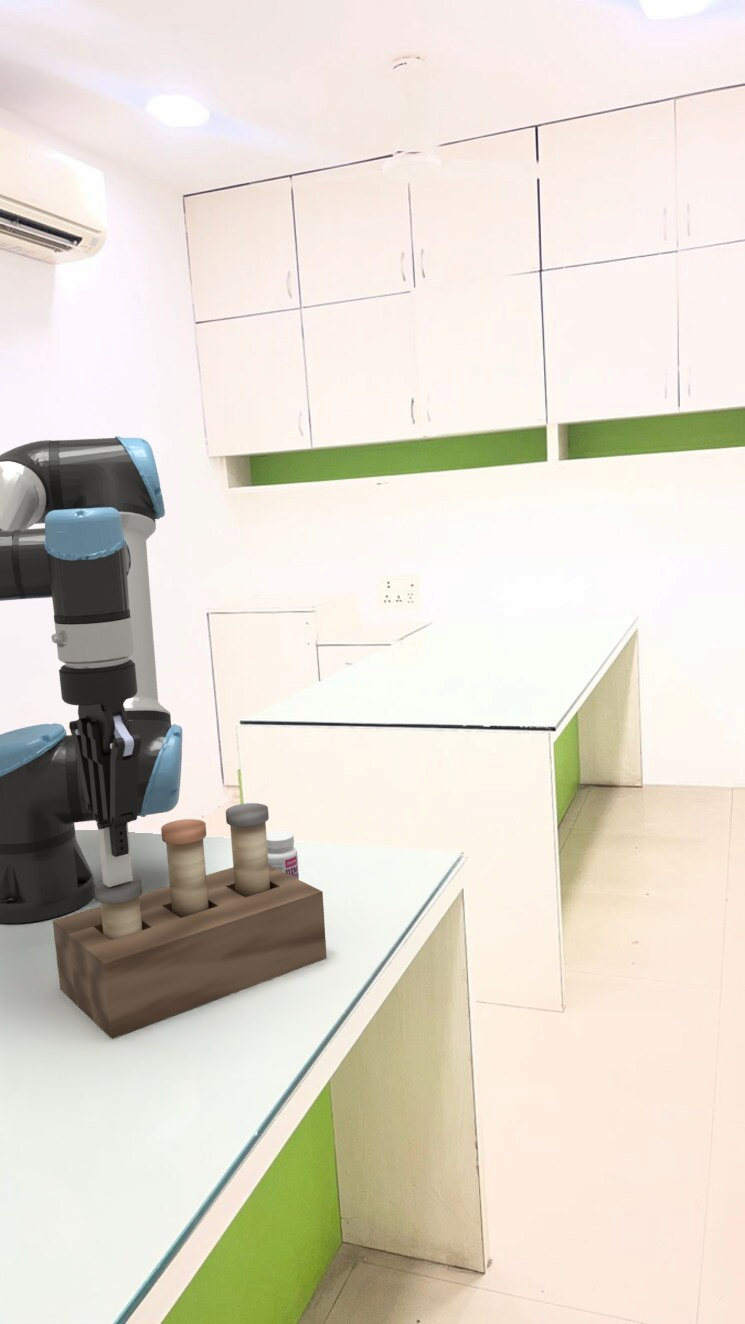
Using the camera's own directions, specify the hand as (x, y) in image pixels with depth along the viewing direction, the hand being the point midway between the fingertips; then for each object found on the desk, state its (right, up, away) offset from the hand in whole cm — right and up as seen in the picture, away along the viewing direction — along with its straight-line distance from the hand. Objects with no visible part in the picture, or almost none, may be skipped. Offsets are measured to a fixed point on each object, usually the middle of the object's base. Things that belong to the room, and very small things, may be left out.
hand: (118, 881), depth 109 cm
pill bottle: (+15, -8, +28) cm, 32 cm away
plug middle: (+7, -7, +6) cm, 11 cm away
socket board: (+7, -12, +7) cm, 15 cm away
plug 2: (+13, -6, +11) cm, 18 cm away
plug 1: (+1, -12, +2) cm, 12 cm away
